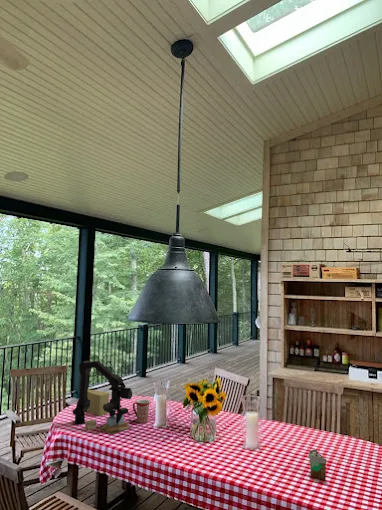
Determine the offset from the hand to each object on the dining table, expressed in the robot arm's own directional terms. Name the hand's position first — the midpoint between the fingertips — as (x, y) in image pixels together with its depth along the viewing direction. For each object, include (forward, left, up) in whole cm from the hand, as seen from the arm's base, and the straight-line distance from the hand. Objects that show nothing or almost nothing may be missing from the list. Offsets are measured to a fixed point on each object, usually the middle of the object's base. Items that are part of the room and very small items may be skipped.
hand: (114, 422), depth 253 cm
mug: (+1, +21, -4) cm, 21 cm away
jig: (0, 0, -4) cm, 4 cm away
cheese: (-37, +11, -4) cm, 39 cm away
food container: (+121, +25, -4) cm, 124 cm away
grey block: (0, 0, -1) cm, 1 cm away
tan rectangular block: (-11, -10, -4) cm, 16 cm away
